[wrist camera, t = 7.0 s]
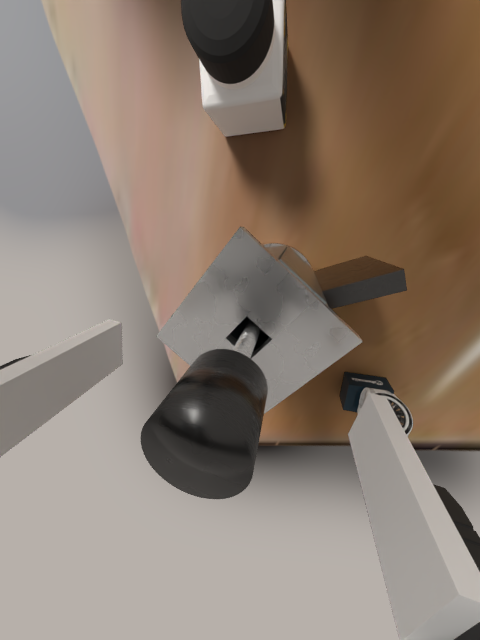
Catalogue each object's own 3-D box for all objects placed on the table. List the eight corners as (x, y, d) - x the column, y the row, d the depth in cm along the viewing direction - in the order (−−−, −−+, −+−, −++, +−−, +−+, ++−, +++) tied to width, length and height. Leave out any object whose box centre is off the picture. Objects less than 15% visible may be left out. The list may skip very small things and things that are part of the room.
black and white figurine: (285, 129, 26) (277, 55, 15) (224, 138, 27) (175, 76, 16) (288, 42, 23) (280, -124, 12) (220, 57, 25) (160, -79, 14)
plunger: (267, 240, 27) (158, 275, 6) (321, 290, 27) (400, 490, 6) (223, 292, 30) (52, 434, 9) (271, 336, 31) (214, 562, 10)
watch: (389, 365, 32) (430, 426, 22) (375, 411, 35) (406, 482, 25) (346, 360, 34) (367, 415, 24) (336, 404, 36) (351, 470, 26)
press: (297, 192, 28) (296, 140, 12) (367, 261, 28) (455, 298, 13) (218, 287, 34) (149, 336, 18) (277, 340, 35) (261, 431, 19)
